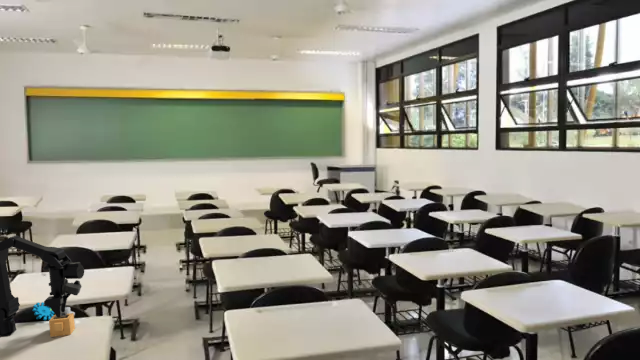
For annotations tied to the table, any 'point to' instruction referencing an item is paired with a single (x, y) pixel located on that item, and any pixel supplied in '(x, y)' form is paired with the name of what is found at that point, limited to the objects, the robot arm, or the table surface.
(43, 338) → the table surface
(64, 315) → the wedge
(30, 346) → the table surface
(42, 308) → the gear
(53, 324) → the tan open box
